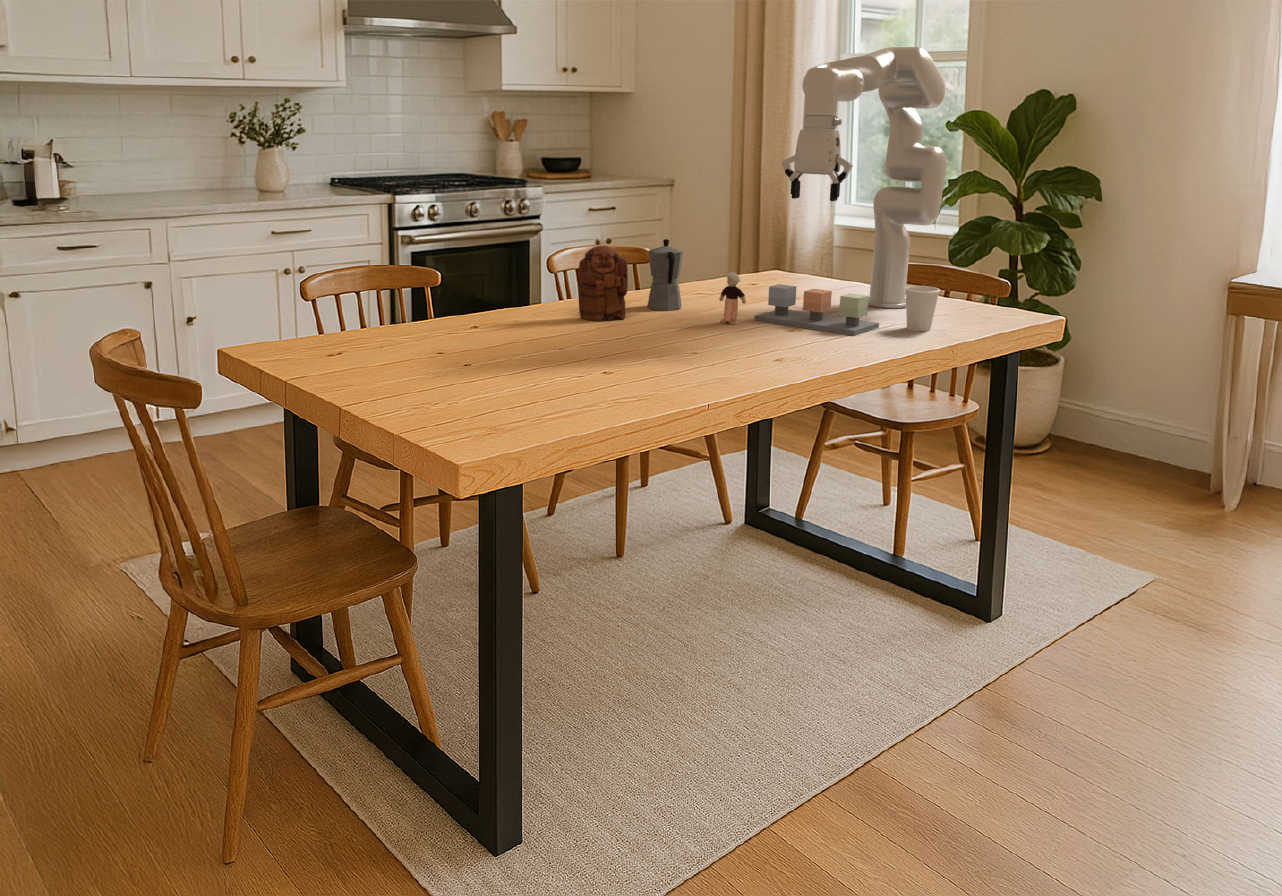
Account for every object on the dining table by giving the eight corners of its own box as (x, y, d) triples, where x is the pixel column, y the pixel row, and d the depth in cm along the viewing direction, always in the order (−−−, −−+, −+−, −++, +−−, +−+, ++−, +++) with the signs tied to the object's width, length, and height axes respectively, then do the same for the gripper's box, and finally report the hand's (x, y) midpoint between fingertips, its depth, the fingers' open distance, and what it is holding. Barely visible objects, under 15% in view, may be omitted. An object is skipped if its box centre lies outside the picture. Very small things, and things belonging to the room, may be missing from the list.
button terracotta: (812, 307, 273) (813, 288, 272) (830, 309, 270) (831, 291, 269) (802, 310, 269) (804, 291, 268) (820, 312, 266) (822, 293, 265)
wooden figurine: (583, 322, 268) (583, 248, 262) (577, 317, 273) (577, 245, 268) (629, 320, 271) (630, 247, 266) (622, 315, 277) (623, 244, 271)
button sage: (848, 312, 267) (850, 293, 266) (867, 315, 264) (868, 295, 263) (838, 315, 264) (840, 296, 262) (857, 318, 261) (859, 298, 259)
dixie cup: (937, 333, 263) (941, 292, 259) (901, 331, 264) (905, 290, 261) (935, 326, 270) (939, 286, 267) (900, 324, 272) (904, 284, 269)
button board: (780, 313, 284) (781, 300, 283) (878, 327, 268) (880, 314, 267) (754, 320, 274) (754, 306, 273) (854, 335, 258) (855, 321, 257)
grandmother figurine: (713, 322, 270) (715, 271, 266) (719, 320, 273) (722, 269, 269) (742, 326, 266) (744, 274, 262) (748, 323, 269) (750, 272, 266)
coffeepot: (642, 303, 294) (644, 236, 288) (677, 303, 295) (679, 236, 290) (652, 314, 279) (654, 243, 274) (688, 313, 281) (690, 243, 275)
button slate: (778, 302, 279) (779, 284, 277) (795, 304, 276) (796, 286, 275) (768, 305, 275) (769, 286, 274) (785, 307, 272) (786, 288, 271)
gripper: (860, 124, 250) (854, 200, 255) (791, 122, 259) (787, 196, 264) (848, 125, 244) (842, 202, 249) (778, 123, 253) (774, 198, 258)
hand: (814, 199), depth 257 cm, fingers open, 9 cm apart
